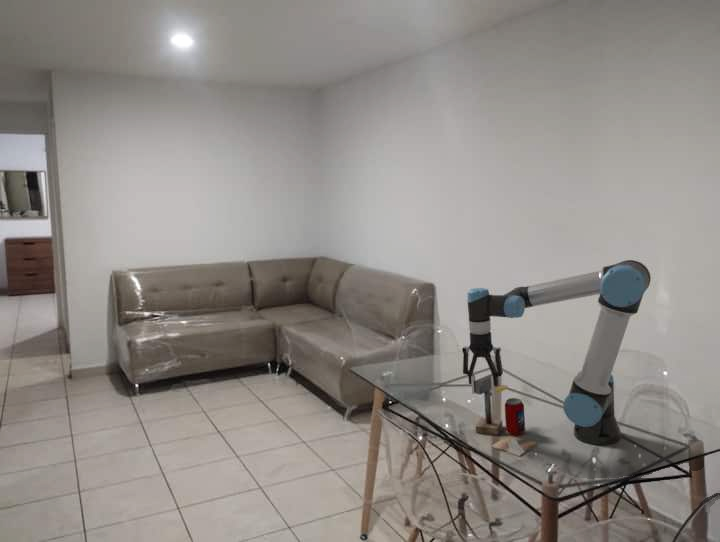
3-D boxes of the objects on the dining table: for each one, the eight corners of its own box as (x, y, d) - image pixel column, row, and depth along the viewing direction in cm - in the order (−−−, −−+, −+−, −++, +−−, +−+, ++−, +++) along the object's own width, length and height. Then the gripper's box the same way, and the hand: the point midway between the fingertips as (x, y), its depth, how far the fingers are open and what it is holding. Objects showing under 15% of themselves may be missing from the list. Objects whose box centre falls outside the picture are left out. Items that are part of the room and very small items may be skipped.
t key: (503, 412, 222) (501, 369, 220) (509, 414, 220) (506, 370, 218) (476, 426, 212) (473, 381, 210) (482, 427, 210) (479, 382, 208)
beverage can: (526, 436, 207) (524, 404, 205) (506, 436, 208) (504, 404, 207) (524, 428, 213) (523, 397, 212) (505, 428, 215) (504, 397, 213)
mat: (536, 444, 200) (536, 442, 200) (519, 456, 192) (519, 454, 192) (508, 436, 208) (508, 434, 208) (491, 447, 201) (491, 445, 200)
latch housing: (502, 426, 217) (502, 419, 217) (497, 435, 210) (497, 428, 209) (481, 424, 220) (480, 417, 220) (476, 432, 213) (475, 426, 213)
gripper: (509, 329, 205) (513, 391, 209) (456, 328, 214) (460, 387, 217) (505, 335, 199) (508, 399, 202) (450, 333, 207) (454, 394, 211)
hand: (483, 393), depth 210 cm, fingers open, 6 cm apart
